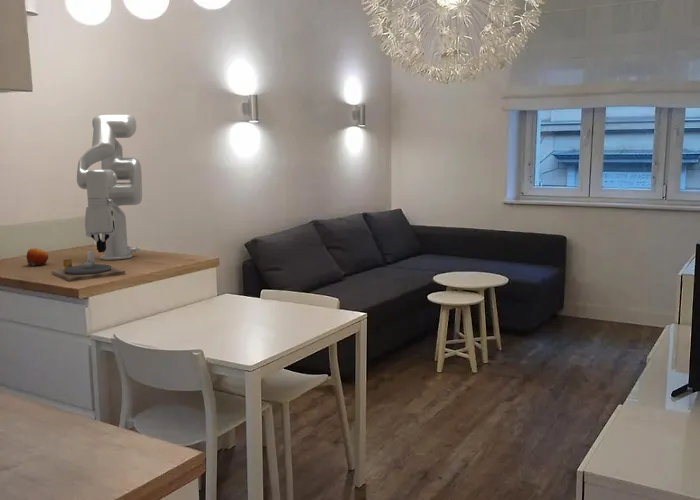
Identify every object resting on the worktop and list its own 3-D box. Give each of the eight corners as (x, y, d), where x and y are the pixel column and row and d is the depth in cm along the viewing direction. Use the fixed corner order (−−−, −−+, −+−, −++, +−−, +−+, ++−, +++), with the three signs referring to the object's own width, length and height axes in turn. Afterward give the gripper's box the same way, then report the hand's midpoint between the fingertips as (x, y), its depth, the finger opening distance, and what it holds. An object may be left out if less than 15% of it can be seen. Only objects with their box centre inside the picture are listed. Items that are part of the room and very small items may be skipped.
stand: (105, 267, 266) (104, 254, 265) (125, 274, 251) (124, 260, 250) (52, 273, 254) (50, 260, 253) (69, 281, 238) (68, 266, 237)
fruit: (18, 262, 271) (26, 244, 273) (34, 270, 277) (42, 252, 280) (29, 264, 267) (38, 245, 269) (46, 272, 273) (54, 253, 275)
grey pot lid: (102, 265, 263) (101, 249, 262) (117, 270, 251) (116, 254, 250) (59, 270, 253) (57, 254, 252) (73, 276, 241) (71, 259, 240)
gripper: (121, 202, 259) (124, 250, 261) (82, 203, 258) (85, 251, 260) (115, 203, 251) (118, 252, 253) (74, 204, 251) (78, 253, 253)
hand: (101, 251), depth 257 cm, fingers closed
